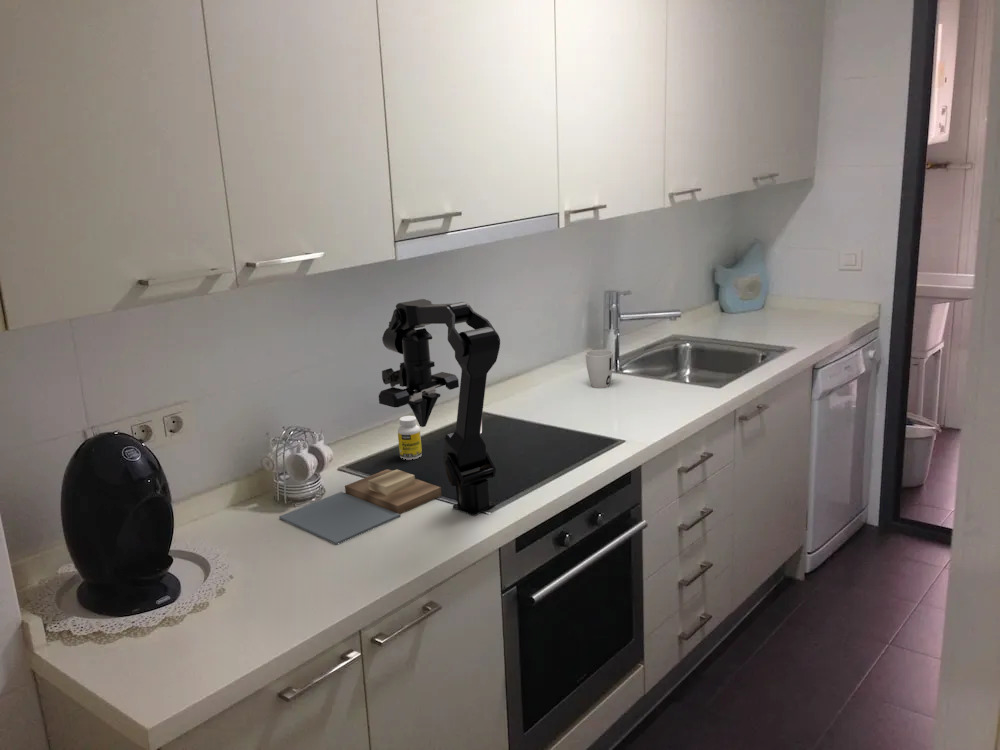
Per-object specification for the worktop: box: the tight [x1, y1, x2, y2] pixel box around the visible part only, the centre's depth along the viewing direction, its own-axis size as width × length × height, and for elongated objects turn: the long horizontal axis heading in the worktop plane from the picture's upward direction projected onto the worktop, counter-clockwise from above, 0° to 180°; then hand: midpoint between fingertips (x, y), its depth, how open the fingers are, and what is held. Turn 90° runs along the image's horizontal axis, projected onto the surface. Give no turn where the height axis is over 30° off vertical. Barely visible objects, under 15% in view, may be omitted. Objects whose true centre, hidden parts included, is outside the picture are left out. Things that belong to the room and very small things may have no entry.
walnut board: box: [344, 468, 442, 515], centre depth 195 cm, size 18×12×2 cm, turn 46°
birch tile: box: [368, 468, 416, 496], centre depth 194 cm, size 6×8×2 cm
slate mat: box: [278, 491, 401, 546], centre depth 185 cm, size 20×16×1 cm
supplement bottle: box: [397, 415, 423, 461], centre depth 216 cm, size 5×5×10 cm
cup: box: [585, 349, 614, 389], centre depth 264 cm, size 8×8×10 cm
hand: (422, 426), depth 198 cm, fingers closed
